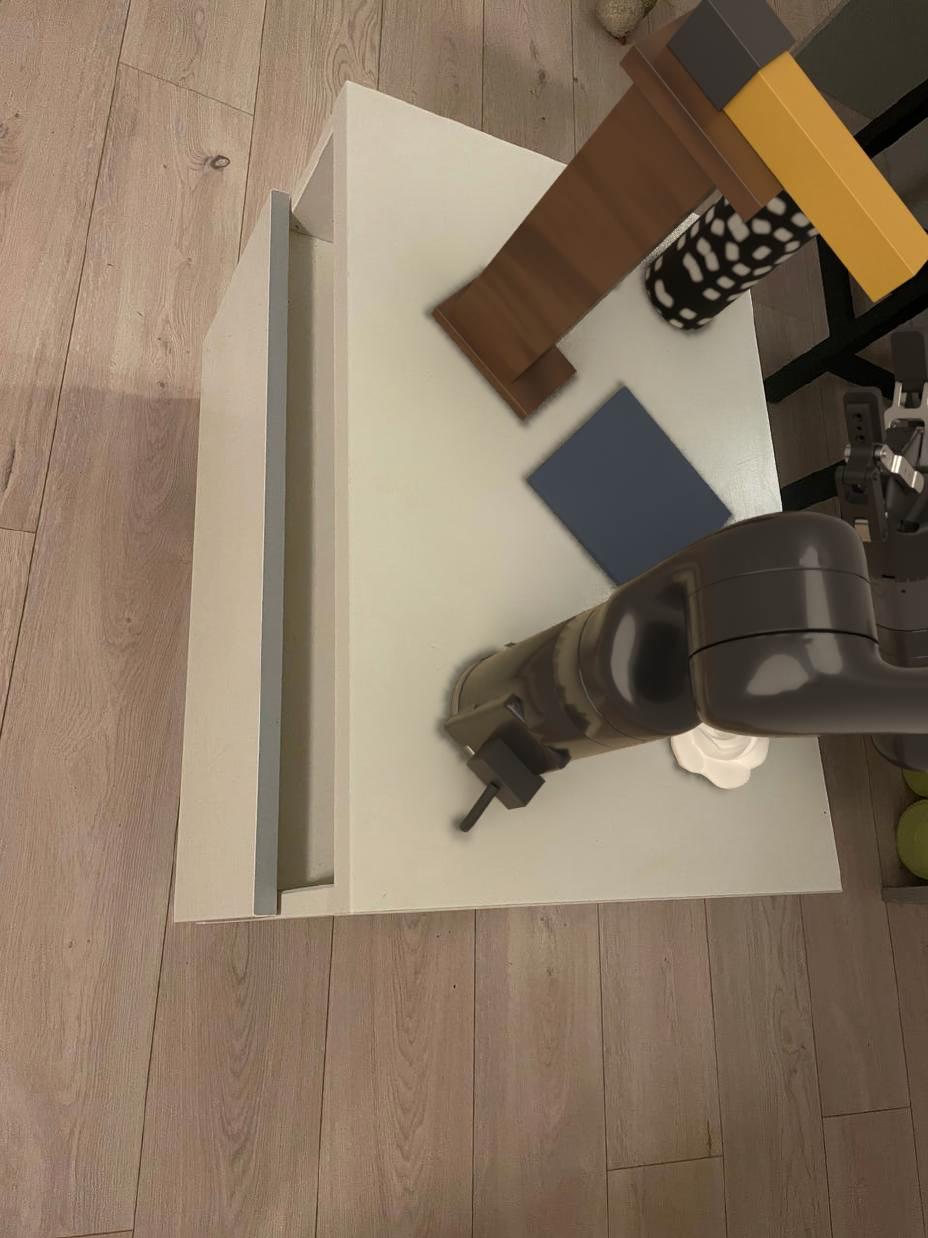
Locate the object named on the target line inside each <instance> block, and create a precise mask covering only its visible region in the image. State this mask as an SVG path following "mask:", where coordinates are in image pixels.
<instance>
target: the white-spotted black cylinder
mask: <svg viewBox="0 0 928 1238" xmlns="http://www.w3.org/2000/svg"><path fill="white" fill-rule="evenodd" d="M818 235H820V233H819V232H818V231H817V229H816V228H815V227H814V225H813V224H812V223H811V222H810V220H809V219H808V218H807V216H806V215H805V214H804V213H803V211H802V210H801V209H800V207H799V206H798V205H797V204H796V202H795V201H794V200H793V198H792V197H791V196H790V195H789V193H788V192H787V191H786V190H785V188H784V189H783V190H782V191H781V192H780V193H779V194H777V195H776V196H775V197H774V198H773V199H772V200H771V201H770V202H769V203H768V204H766V205H765V206H764V207H763V208H762V209H761V210H760V211H759V212H757V213H756V214H755V215H754V216H753V217H752V218H751V219H750V220H748V221H747V222H746V223H745V222H744V221H743V220H742V219H741V217H740V216H739V215H738V214H737V212H736V211H735V210H734V209H733V207H732V206H731V205H730V203H729V202H728V201H727V200H726V198H725V197H724V196H723V195H722V194H721V196H719V198H718V199H717V200H716V201H714V202H713V203H712V204H711V205H710V206H709V207H708V208H707V209H706V210H705V211H704V212H703V213H702V214H701V215H700V216H699V217H698V218H696V220H694V222H692V224H690V225H689V226H688V227H687V228H686V229H685V230H684V231H683V232H681V234H680V235H679V236H678V237H677V238H675V240H673V241H672V242H671V243H670V244H669V245H668V246H667V247H666V248H665V249H664V250H663V251H662V252H661V253H659V255H658V256H657V257H655V258H654V259H653V260H652V261H651V262H650V263H649V265H648V267H647V268H646V271H645V287H646V291H647V295H648V298H649V299H650V301H651V303H652V305H653V306H654V308H655V309H656V312H658V313H659V315H661V317H662V318H664V319H665V321H667V322H668V323H670V324H672V326H675V327H676V328H679V329H681V330H685V331H696V330H699V329H701V328H702V327H704V326H705V325H706V324H708V323H709V322H710V321H711V320H713V319H714V318H715V317H717V316H718V315H719V314H720V313H721V312H722V311H724V310H725V309H727V308H728V307H729V306H730V305H731V304H733V303H734V302H735V301H737V300H738V299H739V298H740V297H742V296H743V295H745V293H747V292H748V291H749V290H750V289H752V288H753V287H754V286H756V285H757V284H758V283H759V282H760V281H762V280H763V279H764V278H765V277H766V276H768V275H769V274H770V273H771V272H773V271H774V270H776V269H777V268H778V267H779V266H780V265H782V264H783V263H784V262H785V261H786V260H788V259H789V258H790V257H792V256H793V255H794V254H796V252H798V251H799V250H801V249H802V248H803V247H804V246H805V245H807V244H808V243H809V242H811V241H812V240H813V239H815V238H816V237H817V236H818Z"/></svg>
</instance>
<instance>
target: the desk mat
mask: <svg viewBox="0 0 928 1238" xmlns="http://www.w3.org/2000/svg"><path fill="white" fill-rule="evenodd" d="M526 481H527V483H528V484H529V485H530V486H531V488H532V489H533V490H534V491H535V492H536V493H537V495H538V496H539V497H540V498H541V499H542V500H543V501H544V502H545V504H546V505H547V506H548V507H549V508H550V510H552V511H553V513H554V514H555V515H556V516H557V518H559V520H560V521H561V522H562V523H563V524H564V525H565V527H566V528H567V529H568V530H569V531H570V532H571V534H572V535H573V536H574V537H575V539H576V540H577V541H578V542H579V543H580V544H581V545H582V547H584V549H585V550H586V551H587V553H589V554H590V555H591V557H592V559H594V560H595V562H597V564H598V565H599V566H600V567H601V568H602V570H603V571H604V572H605V573H606V575H608V577H610V579H611V580H612V582H614V583H615V584H616V586H617V588H618V587H619V586H620V585H622V584H623V583H625V582H626V581H628V580H630V579H631V578H633V577H635V576H637V575H639V574H640V573H642V572H644V571H646V570H647V569H649V568H651V567H652V566H654V565H656V564H657V563H659V562H661V561H662V560H664V559H665V558H667V557H669V556H670V555H672V554H674V553H675V552H677V551H678V550H680V549H682V548H683V547H685V546H687V545H689V544H690V543H692V542H694V541H696V540H698V539H699V538H701V537H703V536H705V535H707V534H709V533H711V532H714V531H716V530H718V529H720V528H723V527H724V525H725V524H726V523H727V521H728V520H729V518H731V516H732V515H733V513H732V511H730V509H729V508H728V507H727V506H726V505H725V503H724V502H723V501H722V500H721V499H720V497H719V496H718V495H717V494H716V492H715V491H714V490H713V489H712V488H711V487H710V485H709V484H708V482H706V481H705V480H704V478H703V477H702V476H701V475H700V473H699V472H698V471H697V470H696V468H695V467H694V466H693V465H692V464H691V463H690V462H689V460H688V459H687V458H686V457H685V455H684V454H683V453H682V452H681V451H680V449H679V448H678V447H677V446H676V444H674V442H673V441H672V439H670V437H669V436H668V435H667V434H666V433H665V431H664V430H663V429H662V428H661V426H659V424H658V423H657V422H656V421H655V420H654V418H653V417H652V415H650V413H649V412H648V411H647V410H646V408H645V407H644V406H643V405H642V404H641V403H640V401H639V400H638V399H637V398H636V396H635V395H634V394H633V393H632V392H631V390H630V389H629V388H628V387H627V386H626V385H625V386H623V387H622V388H621V389H619V391H617V392H616V393H615V395H613V397H611V398H610V399H609V400H608V401H607V402H606V403H605V404H604V405H603V406H602V407H601V408H600V409H599V410H598V411H597V412H596V413H595V414H593V416H591V418H590V419H588V421H586V422H585V424H584V425H582V426H581V427H580V428H579V429H578V430H576V432H575V433H574V434H573V435H572V436H571V437H570V438H569V439H568V440H567V441H566V442H565V443H564V444H562V445H561V446H560V447H559V449H557V450H556V451H555V452H554V453H553V454H552V455H551V456H550V457H549V458H548V459H547V460H546V461H545V462H544V463H543V464H542V465H541V466H539V468H537V470H536V471H535V472H533V473H532V474H531V475H530V476H529V477H528V478H527V479H526Z"/></svg>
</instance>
